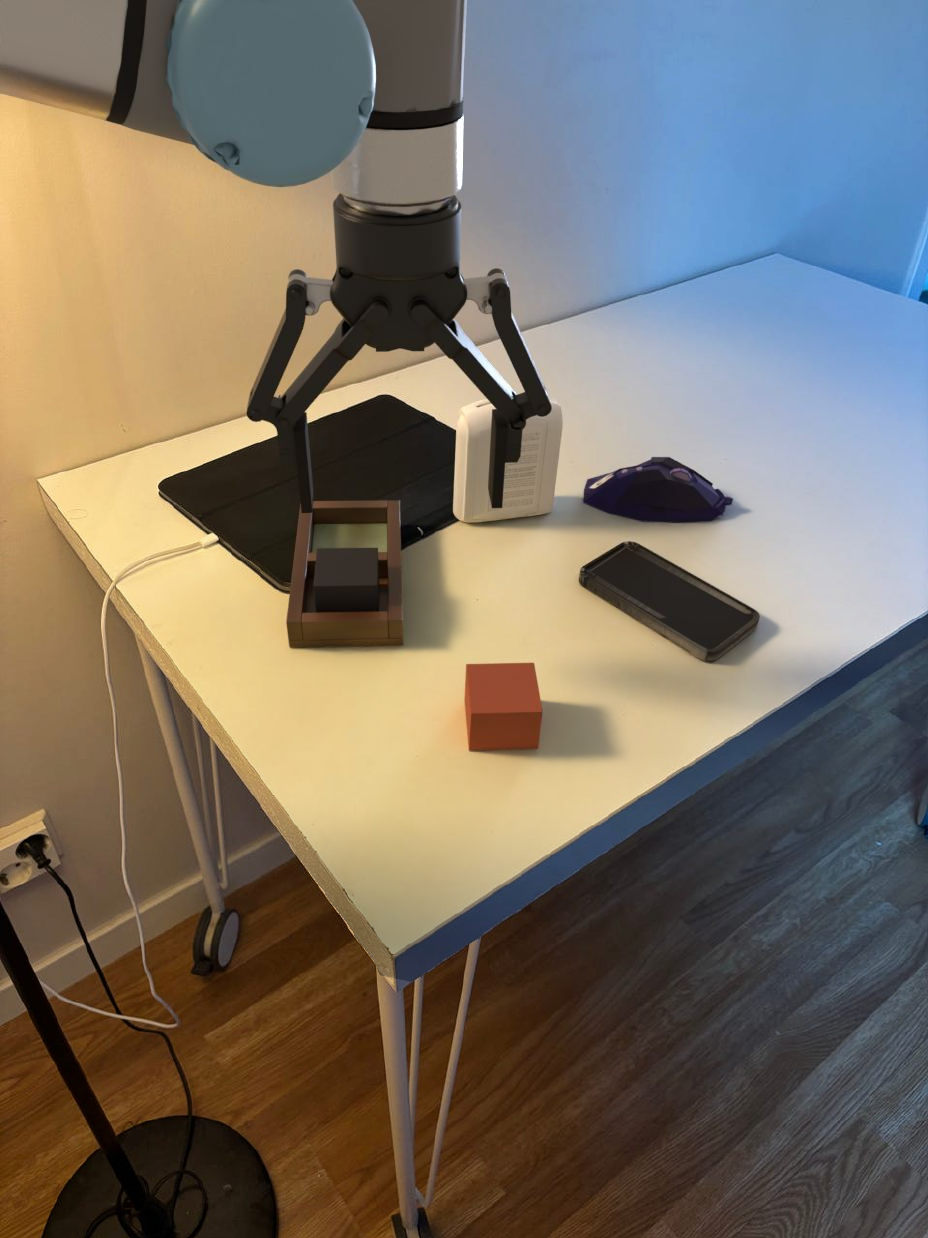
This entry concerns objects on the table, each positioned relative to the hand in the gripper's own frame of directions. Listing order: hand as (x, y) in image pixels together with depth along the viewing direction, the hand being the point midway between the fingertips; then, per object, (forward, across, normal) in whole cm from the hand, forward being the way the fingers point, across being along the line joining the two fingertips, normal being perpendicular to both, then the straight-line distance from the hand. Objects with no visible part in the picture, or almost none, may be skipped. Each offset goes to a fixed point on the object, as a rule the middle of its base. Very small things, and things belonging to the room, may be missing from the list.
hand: (402, 500), depth 69 cm
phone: (+15, -23, -5) cm, 28 cm away
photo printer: (+15, -11, -20) cm, 27 cm away
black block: (+14, +5, -6) cm, 16 cm away
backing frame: (+15, +5, -10) cm, 18 cm away
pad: (+15, -7, +9) cm, 19 cm away
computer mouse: (+15, -27, -22) cm, 38 cm away
